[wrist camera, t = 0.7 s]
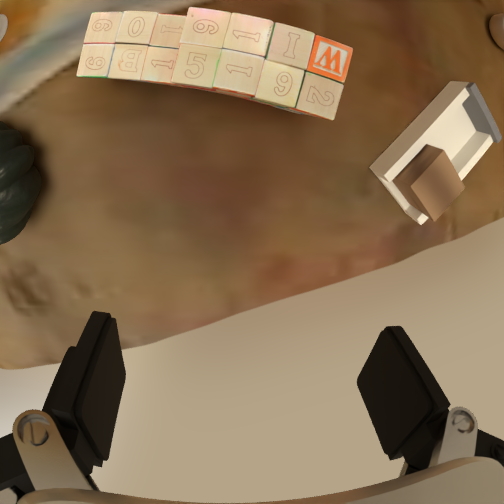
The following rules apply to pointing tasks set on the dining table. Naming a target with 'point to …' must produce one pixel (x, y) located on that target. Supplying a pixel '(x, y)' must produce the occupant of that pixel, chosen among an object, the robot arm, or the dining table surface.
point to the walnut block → (429, 182)
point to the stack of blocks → (219, 57)
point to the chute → (441, 137)
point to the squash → (16, 183)
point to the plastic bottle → (497, 29)
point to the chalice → (3, 25)
